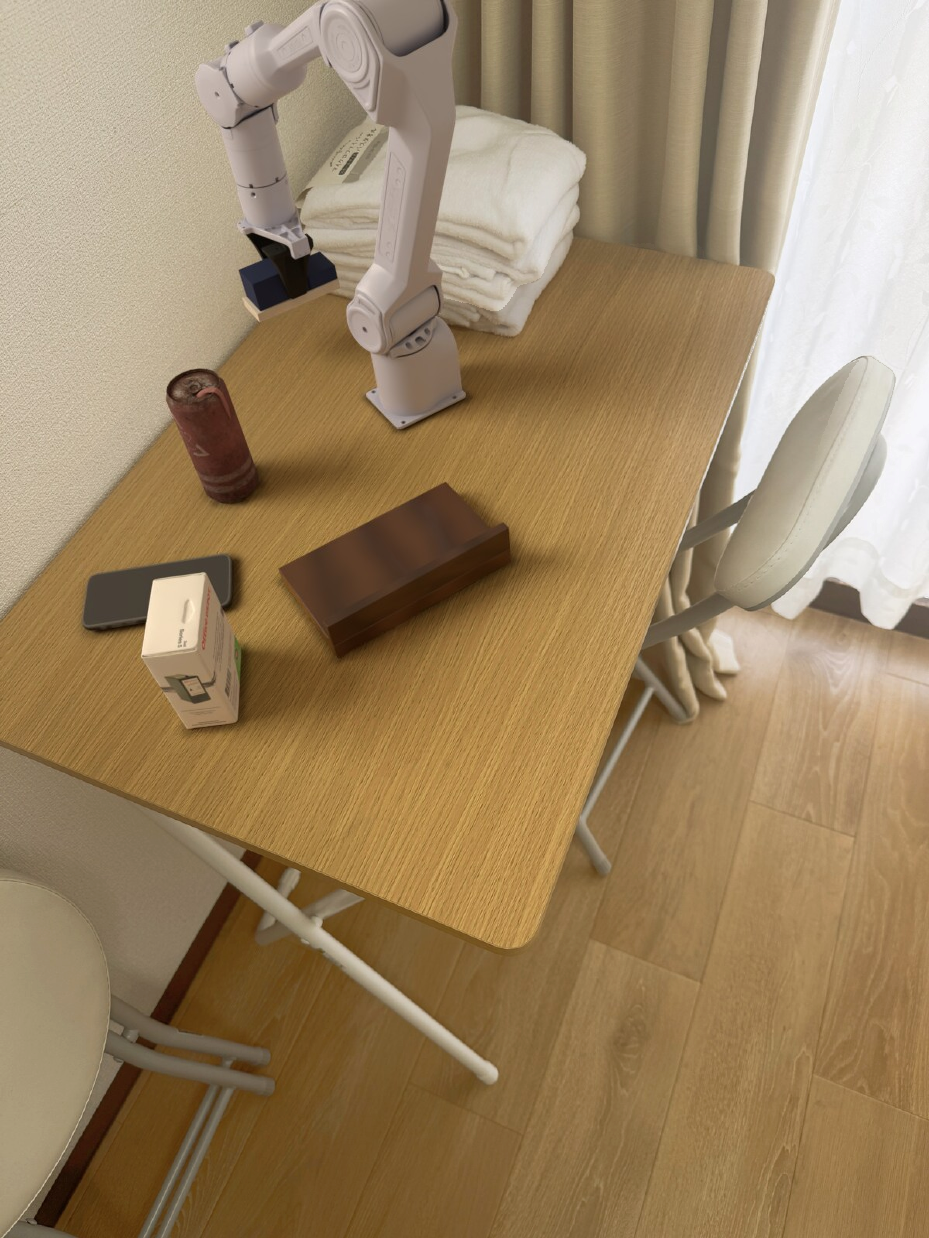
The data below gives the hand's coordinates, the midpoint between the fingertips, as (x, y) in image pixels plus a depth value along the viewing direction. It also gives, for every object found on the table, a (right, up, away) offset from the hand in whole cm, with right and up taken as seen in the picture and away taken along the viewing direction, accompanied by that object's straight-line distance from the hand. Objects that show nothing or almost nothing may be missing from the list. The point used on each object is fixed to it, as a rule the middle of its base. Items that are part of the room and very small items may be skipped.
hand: (290, 286), depth 110 cm
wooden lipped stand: (+14, -35, -18) cm, 42 cm away
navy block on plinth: (0, -1, +1) cm, 1 cm away
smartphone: (-10, -38, -17) cm, 43 cm away
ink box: (-2, -47, -25) cm, 53 cm away
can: (-5, -25, -8) cm, 27 cm away
